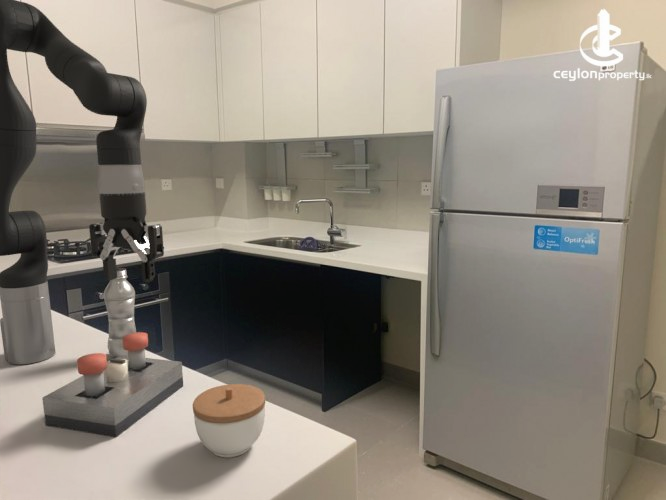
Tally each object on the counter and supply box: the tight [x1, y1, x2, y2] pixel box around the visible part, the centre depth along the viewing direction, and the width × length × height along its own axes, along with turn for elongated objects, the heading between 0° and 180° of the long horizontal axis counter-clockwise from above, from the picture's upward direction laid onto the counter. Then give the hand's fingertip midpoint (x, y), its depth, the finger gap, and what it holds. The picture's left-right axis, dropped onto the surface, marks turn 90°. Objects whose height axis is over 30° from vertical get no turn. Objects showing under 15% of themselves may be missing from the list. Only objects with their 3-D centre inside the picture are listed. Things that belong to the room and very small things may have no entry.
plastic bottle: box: [103, 268, 137, 358], centre depth 110 cm, size 6×7×20 cm
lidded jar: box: [192, 383, 266, 458], centre depth 74 cm, size 11×11×9 cm
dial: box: [106, 357, 128, 382], centre depth 87 cm, size 4×4×4 cm
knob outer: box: [76, 352, 108, 396], centre depth 82 cm, size 4×4×6 cm
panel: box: [42, 355, 184, 438], centre depth 88 cm, size 14×19×5 cm
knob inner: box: [122, 331, 149, 370], centre depth 92 cm, size 4×4×6 cm
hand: (129, 280), depth 90 cm, fingers open, 7 cm apart
